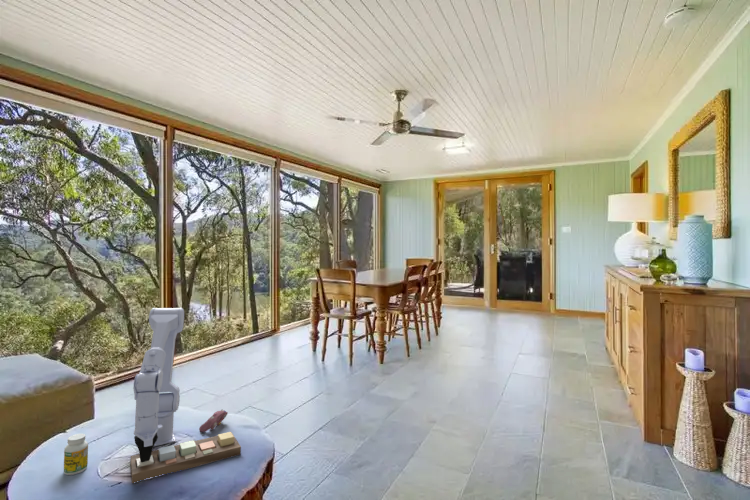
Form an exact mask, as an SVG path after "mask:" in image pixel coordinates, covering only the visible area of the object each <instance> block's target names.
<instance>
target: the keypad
mask: <svg viewBox="0 0 750 500" xmlns="http://www.w3.org/2000/svg"><path fill="white" fill-rule="evenodd" d="M230 432H231V431H230ZM231 433H232V434H233V432H231ZM233 436H234V443H233V444H229V445H225V446H221V447H220V446H219V444H218V435H215V436H210V437H206V438H202V439H199V440H194V442H195V444H196V453H193V454H189V455H185V456H180V453H179V446H180V444H176V445H174V447H175V450H176V455H175V458H174V459H170V460H166V461H162V462H159V458H158V455H159V449H155V450H152V453H151V455H152V456H153V460H154V464H150V465H146V466H142V467H138V468H136V460H137V459H138V458H140V455H139V453H138V454H134V455H130V457H129V459H130V463H129V464H130V475H131V477H132V478H131V484H132V483H134V482H137V481H140V480H144V479H146V478H150V477H155V476H159V475H162V474H167V473H171V472H174V473H176V472H177V471H178V472H181V471H180V470H182V471H186V470H189V469H192V468H197V467H200V466H203V465H207V464H211V463H214V462H218V461H221V460H226V459H229V458H233V457H236V456H240V455H241V454H242V446H241V444H240V443H239V442H238V440H237V438H236V437H235V435H234V434H233ZM209 441H213V442H214V444H215V448H213V449H209V450H205V451H200V449H199V444H201V443H205V442H209ZM188 468H189V469H188ZM171 474H172V473H171ZM167 475H168V474H167ZM159 477H160V476H159ZM137 483H138V482H137ZM134 484H135V483H134Z"/></svg>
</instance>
